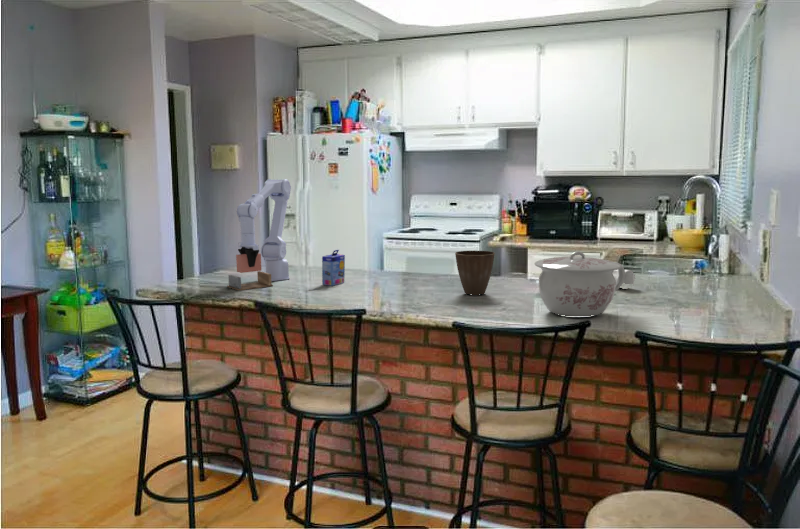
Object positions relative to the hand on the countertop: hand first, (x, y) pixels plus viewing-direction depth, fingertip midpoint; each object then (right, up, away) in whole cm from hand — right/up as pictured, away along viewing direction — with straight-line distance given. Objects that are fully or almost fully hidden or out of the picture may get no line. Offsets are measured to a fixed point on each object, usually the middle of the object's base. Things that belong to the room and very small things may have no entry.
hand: (249, 266), depth 265 cm
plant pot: (+91, -11, -17) cm, 93 cm away
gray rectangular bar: (-5, -9, -3) cm, 11 cm away
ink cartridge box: (+34, -8, +7) cm, 36 cm away
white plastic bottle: (+147, -9, -4) cm, 147 cm away
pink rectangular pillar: (0, -2, 0) cm, 2 cm away
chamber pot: (+120, -16, -52) cm, 132 cm away
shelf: (0, -9, +1) cm, 9 cm away
